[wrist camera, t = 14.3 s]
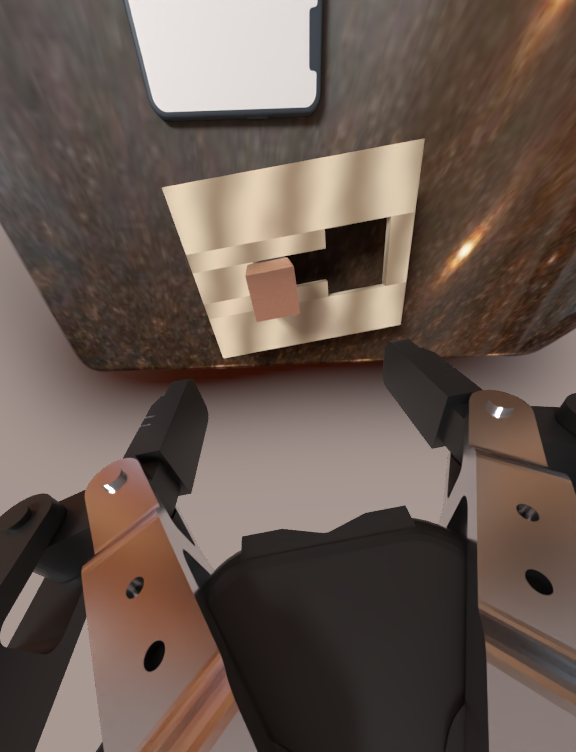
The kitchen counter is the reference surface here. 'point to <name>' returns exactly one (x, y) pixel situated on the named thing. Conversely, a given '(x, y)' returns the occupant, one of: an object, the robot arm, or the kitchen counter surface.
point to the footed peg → (272, 288)
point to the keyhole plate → (297, 241)
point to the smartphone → (228, 57)
